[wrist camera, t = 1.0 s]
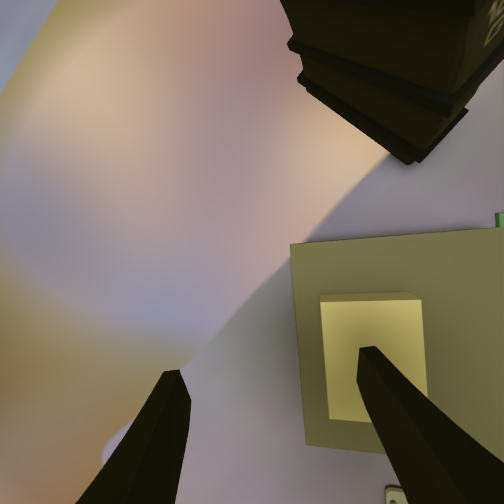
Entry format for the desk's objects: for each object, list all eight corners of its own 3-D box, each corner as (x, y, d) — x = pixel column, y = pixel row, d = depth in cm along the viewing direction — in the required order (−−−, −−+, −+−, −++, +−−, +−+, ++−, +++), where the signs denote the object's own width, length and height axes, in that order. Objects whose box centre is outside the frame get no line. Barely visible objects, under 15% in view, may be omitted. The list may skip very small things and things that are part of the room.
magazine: (449, 192, 19) (483, -55, 7) (320, 128, 26) (226, -46, 14) (492, 149, 18) (618, -220, 6) (347, 95, 25) (271, -118, 13)
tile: (415, 403, 19) (429, 427, 16) (328, 397, 20) (329, 418, 18) (408, 291, 18) (421, 299, 16) (320, 294, 20) (320, 302, 18)
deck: (493, 436, 20) (522, 469, 17) (307, 419, 24) (305, 445, 21) (480, 228, 20) (507, 226, 17) (293, 243, 23) (289, 244, 20)
